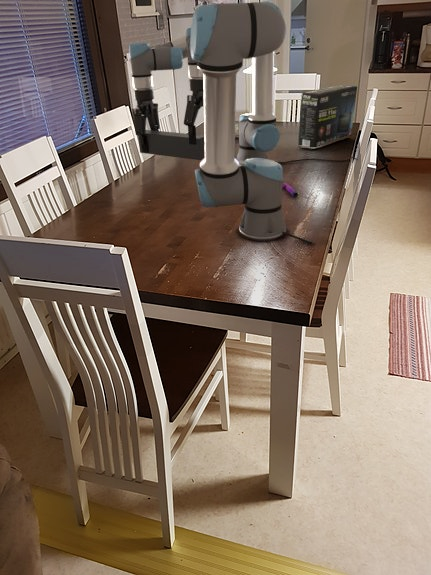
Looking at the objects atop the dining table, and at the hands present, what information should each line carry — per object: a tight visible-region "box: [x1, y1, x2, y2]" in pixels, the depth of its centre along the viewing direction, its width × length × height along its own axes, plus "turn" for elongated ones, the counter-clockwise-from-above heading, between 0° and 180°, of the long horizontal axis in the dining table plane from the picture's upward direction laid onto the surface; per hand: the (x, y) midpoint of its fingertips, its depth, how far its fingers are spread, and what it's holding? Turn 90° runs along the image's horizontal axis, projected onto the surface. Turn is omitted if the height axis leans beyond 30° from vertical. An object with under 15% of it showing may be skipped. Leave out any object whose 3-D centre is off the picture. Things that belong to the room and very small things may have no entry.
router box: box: [297, 84, 358, 151], centre depth 238 cm, size 36×11×27 cm, turn 134°
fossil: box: [235, 122, 239, 140], centre depth 266 cm, size 18×11×15 cm
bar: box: [137, 129, 205, 161], centre depth 179 cm, size 29×5×8 cm, turn 60°
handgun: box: [282, 179, 299, 198], centre depth 183 cm, size 21×8×2 cm, turn 11°
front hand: (202, 140), depth 171 cm, fingers open, 13 cm apart
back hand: (150, 150), depth 186 cm, fingers closed on bar, 5 cm apart
